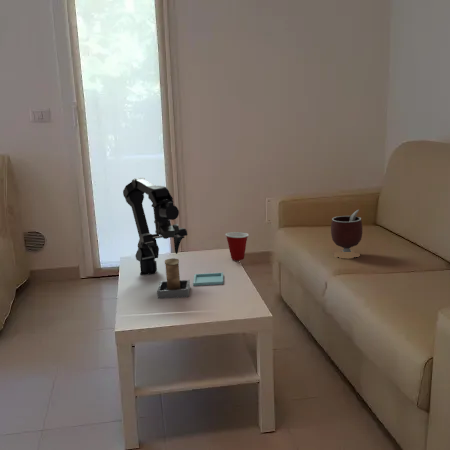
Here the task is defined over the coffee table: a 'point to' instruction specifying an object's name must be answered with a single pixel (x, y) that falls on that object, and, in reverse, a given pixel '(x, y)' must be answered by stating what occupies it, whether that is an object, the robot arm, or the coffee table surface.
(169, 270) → the canister
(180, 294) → the holder
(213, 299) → the coffee table surface
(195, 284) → the tray
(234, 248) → the plastic cup
